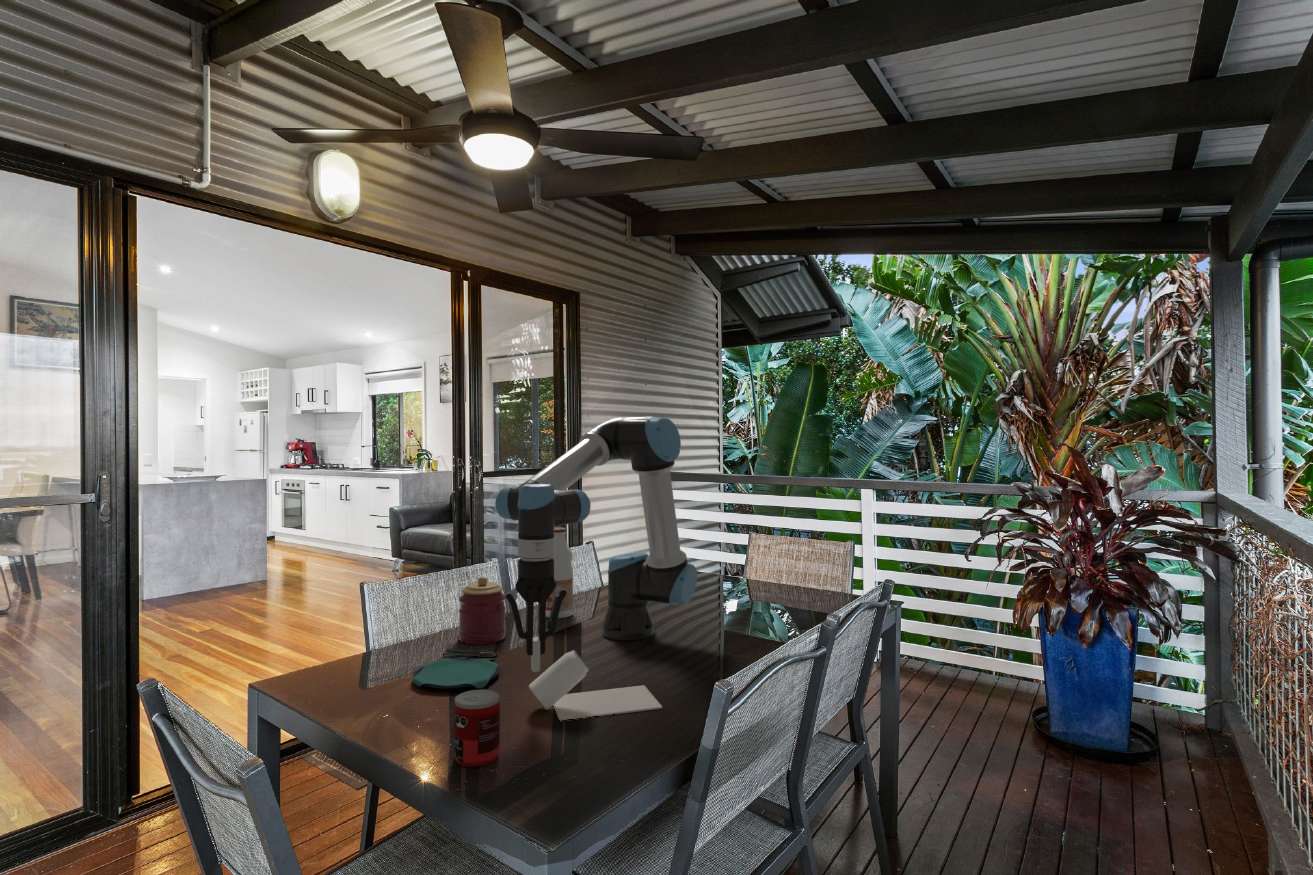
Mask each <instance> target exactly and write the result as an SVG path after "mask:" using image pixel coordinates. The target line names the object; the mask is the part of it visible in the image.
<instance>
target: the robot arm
mask: <svg viewBox="0 0 1313 875" xmlns="http://www.w3.org/2000/svg"><path fill="white" fill-rule="evenodd" d="M681 443H682V442H681V436H680V432H679V430H678V427H677V426H676V424H675V423H674V422H673V421H672V420H671V419H670V418H667V417H661V416H660V417H658V416H655V415H654V416H636V417H635V416H631V417H630V416H629V417H627V416H626V417H625V416H623V417H621V416H620V417H614V418H611V419H609V420H606V421H605V422H602V423H600V424H599V425H597V426H595V427H593V428H592V429H590V430H589V431H587V432H586V433H585V434H583V435H582V436H580V438H579V441H578V443H577V444H575V445H574V446H572V447H571V448H570V449H569V450H568V451H566V452H565V453H563V454H561V455H560V456H559V457H558V458H556V459H555V460H553V461H552V462H551V463H549V464H548V465H547V466H545V467H544V468H543V469H541V470H540V471H538V472H537V473H536V474H534V475H533V476H531V477H530V478H529V479H527V480H526V481H525V482H523V483H522V484H520V485H519V486H517V487H516V486H509V487H504V488H502V489H500V490H499V491H498V493H497V495H496V496H495V502H494V504H495V510H496V512H497V515H498V516H499V517H501V518H502V519H507V520H511V521H515V522H516V521H517V522H518V526H517V528H518V530H517V531H518V532H517V533H518V535H517V537H518V538H517V556H518V558H519V559H518V561H517V580H516V583H515V585H514V586H515V587H514V588H512V589H511V590H510V591H506V592H505V593H504V594H505V596H506V598H505V599H506V600H507V602H508V603H509V604H510V608H511V613H512V617H513V620H514V624H515V625H514V626H515V629H516V633H517V636H518V638H519V639H524V640H526V641H525V651H526V654H527V656H528V657H530V660H531V661H530V669H531V671H532V673H538V672H539V673H540V672H541V655H545V652H546V639H547V638H548V637H551V636H552V637H553V636H554V634H555V631H556V627H557V623H558V619H559V618H558V615H559V611H560V607H561V603H562V600H563V599H564V597H565V596H566V594H567V592H566V590H565V589H564V588H560V587H559V586H557V585H556V581H555V579H554V559H553V558H551V557H552V556H553V555H554V528H556V527H560V526H565V525H570V524H573V525H575V524H577V523H580V522H583V521H584V520H586V519H587V518H588V516H589V515H590V512H591V506H592V505H591V501H590V498H589V496H588V495H587V493H586V492H584V491H583V490H580V489H571V486H572V485H574V484H575V483H576V482H578V481H579V480H580V479H582V477H584V476H585V475H586V474H588V472H590V471H591V470H592V469H594V468H595V467H596V466H597V467H600V466H603V465H605V464H607V463H608V462H610V461H614V460H625V461H626V460H627V461H630V462H631V469H632V470H633V472H635V473H636V474H637V475H638V480H639V486H640V494H641V501H642V509H643V513H644V522H645V528H646V536H647V541H648V542H647V544H648V547H649V548H648V550H649V554H648V553H646V552H634V553H631V552H630V553H625V554H620V555H615V556H613V557H611V558H610V559H609V561H608V567H607V568H608V570H607V573H608V574H607V577H608V580H607V582H608V583H607V587H608V588H607V589H608V590H607V592H608V594H607V596H608V597H607V600H608V601H607V604H608V605H607V609H606V612H605V615H604V616H605V617H604V619H603V623H602V626H601V635H602V636H603V637H605V638H608V639H610V640H616V641H617V640H618V641H638V640H644V639H647V638H650V637H652V636H653V635H654V627H655V626H654V622H653V620H652V616H651V613H650V610H649V602H651V603H652V602H653V603H660V604H666V605H669V606H685V605H686V604H688V603H689V602H690V601H691V599H692V597H693V596H694V594H695V591H696V587H697V583H698V570H697V568H696V566H695V565H694V564H692V563H688V557H687V553H686V552H684V551H683V550H682V549H681V544H680V538H679V530H678V522H677V515H676V514H677V512H676V507H675V499H674V498H675V497H674V491H673V484H672V476H671V475H672V474H671V470H672V468H673V467H674V466H675V461H676V460H677V459H678V457H679V455H680V453H681V449H680V448H682V447H681V446H682V444H681ZM569 488H570V489H569ZM567 489H568V490H567ZM553 591H555V592H554V595H555V598H554V602H553V606H552V610H551V614H550V618H548V622H546V621H547V617H546V600H547V599H548V598H549V597H550V595H551V594H552V592H553ZM518 594H519V595H520V596H521V598H522V599H523V601H525V630H524V628H523V622H522V620H521V619H522V618H521V614H520V612H519V611H520V610H519V607H518V603H517V600H518ZM535 603H537V606H538V607H537V608H538V609H537V612H538V613H537V617H538V619H537V623H538V624H537V627H538V628H537V634H538V636H534V607H535ZM546 624H547V625H546ZM546 627H547V628H546Z"/></svg>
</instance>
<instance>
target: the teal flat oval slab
mask: <svg viewBox="0 0 1313 875" xmlns="http://www.w3.org/2000/svg"><path fill="white" fill-rule="evenodd" d="M491 651H492V650H490V651H488V649H487V650H486V649H485V648H482V649H481V648H478V649H471V650H468V649H467V650H465V649H464V650H463V649H456V648H455V649H454V648H446V649H445V652H442V655H456V657H457V658H458V659H449V658H446V659H445V660H439V659H438V660H436V661H432V662H428V663H426V664H425V665H424V666H421V667H420V668H419V669H416V670H415V671H414V674H412V683H413V685H415V684H416V686H418V687H419V688H421V687H422V686H424V687H429V688H434V689H441V690H442V689H443V690H445V689H446V690H448V689H451V690H452V689H462V688H468V687H474V688H476V689H477V688H481V687H483V686H485V687H486V686H487V685H488V683H489V681H491V680H493V679H494V678H496V676H498V675H499V674H500V667H499V666H500V664H498V663H496V662H493V661H489V660H493V659H494V657H493V655H491V657H493V658H479V657H483V655H482V656H479V657H478V658H469V659H466V658H467V657H473V656H477V655H478V654H479V653H478V652H484V653H480V654H497V656H498V655H499V653H485V652H491ZM446 652H449V653H446ZM455 652H473V653H477V654H472V653H455ZM442 655H441V656H442ZM457 655H458V656H459V655H460V656H461V657H458V656H457ZM462 655H465V656H462ZM468 655H469V656H468ZM497 656H496V657H497ZM421 685H422V686H421ZM420 686H421V687H420Z"/></svg>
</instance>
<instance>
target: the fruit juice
mask: <svg viewBox="0 0 1313 875" xmlns="http://www.w3.org/2000/svg"><path fill="white" fill-rule="evenodd" d="M566 534H567V528H565V527H560V526H555V527H554V555H553V556H552V557H551V558H553V559H554V579H555V581H556V585H557V586H559V587H560V588H564V589H565V590H566V592H567V594H566V596H565V597H564V599H563V600H562V603H561V607H560V611H559V615H558V619H563V618H564V619H565V618H568V617H571V616H572V615H573V612H574V610H573V609H574V608H573V606H574V605H573V604H574V602H573V601H574V599H573V598H574V595H573V594H574V593H573V591H574V590H573V588H574V571H573V567H572V562H573V551H572V549H571V548H570V546H569V545H568V542H567V540H566V539H567V538H566ZM554 592H555V591H553V592H552V594H551V595H550V597H549V598H548V599H547V600H546V618H548V619H549V618H550V614H551V610H552V606H553V602H554V598H555V595H554Z"/></svg>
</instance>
